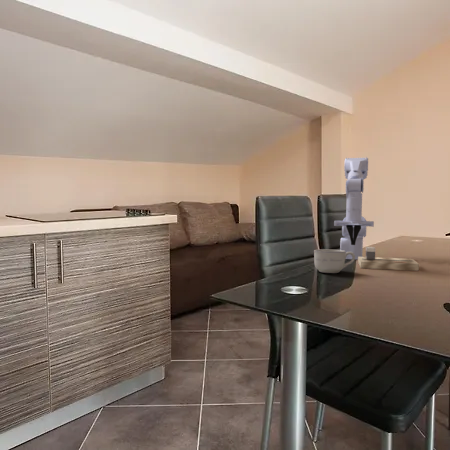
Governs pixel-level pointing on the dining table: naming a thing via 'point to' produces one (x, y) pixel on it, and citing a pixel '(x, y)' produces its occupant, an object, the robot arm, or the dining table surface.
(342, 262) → the teacup
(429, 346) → the dining table surface
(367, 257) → the fader
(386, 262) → the console
